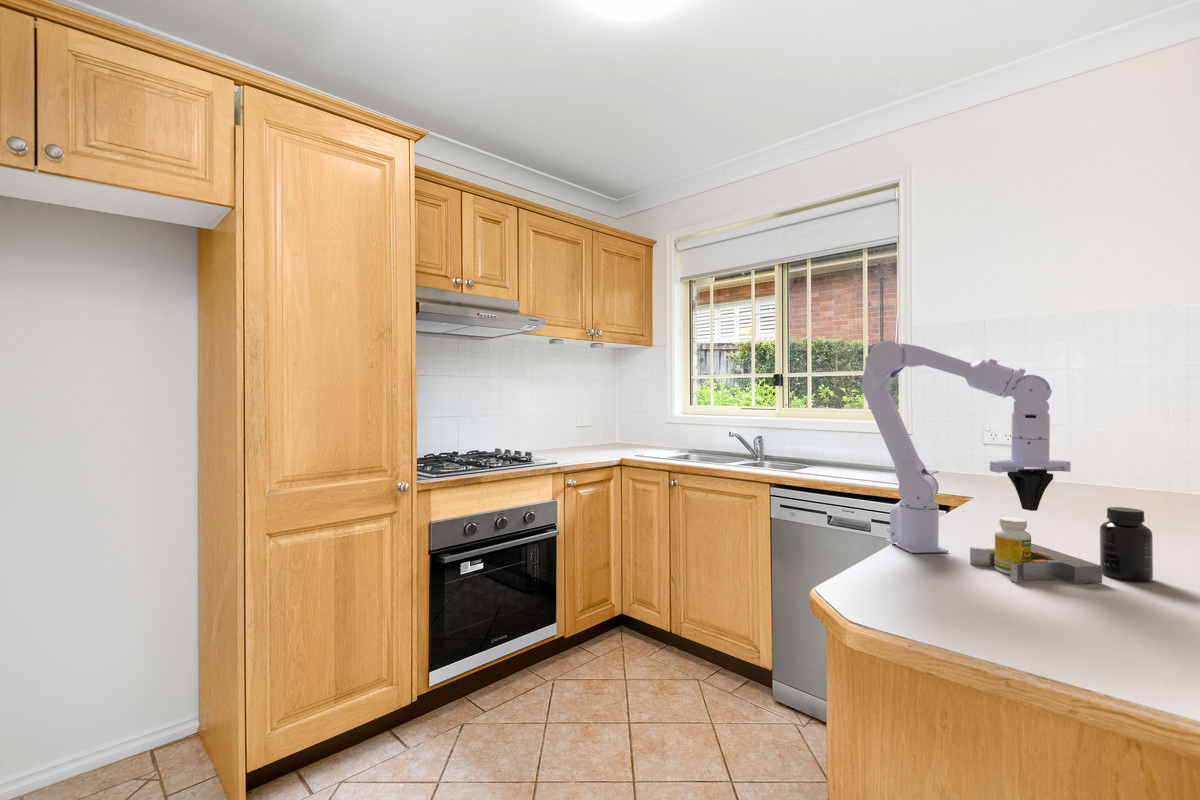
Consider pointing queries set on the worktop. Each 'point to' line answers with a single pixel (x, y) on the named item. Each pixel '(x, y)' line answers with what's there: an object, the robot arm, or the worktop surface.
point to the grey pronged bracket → (1044, 566)
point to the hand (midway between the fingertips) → (1029, 509)
